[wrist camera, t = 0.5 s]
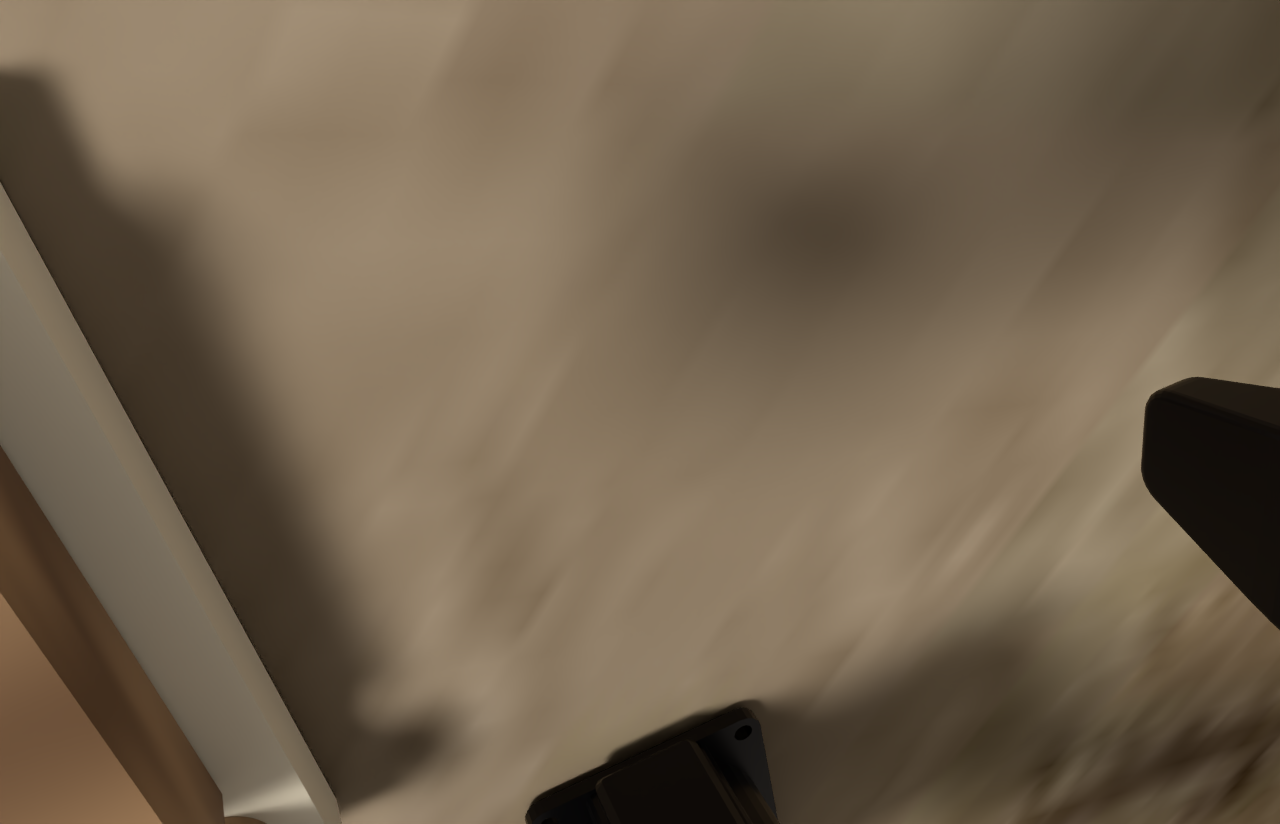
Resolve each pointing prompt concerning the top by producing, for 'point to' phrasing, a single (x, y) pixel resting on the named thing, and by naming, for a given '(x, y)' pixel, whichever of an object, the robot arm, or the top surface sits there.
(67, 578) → the hinged leg
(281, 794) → the white peg board
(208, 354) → the top surface
